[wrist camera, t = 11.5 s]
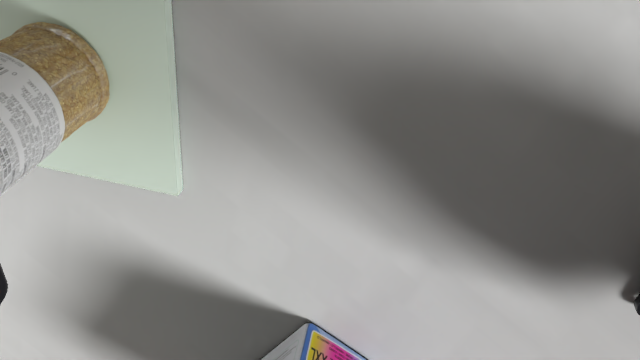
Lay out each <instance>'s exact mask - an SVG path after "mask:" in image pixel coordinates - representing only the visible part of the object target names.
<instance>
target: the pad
mask: <svg viewBox="0 0 640 360" xmlns="http://www.w3.org/2000/svg"><path fill="white" fill-rule="evenodd" d="M36 22H47V23H50V24H56V25H60V26H62V27H65V28H67V29H70V30H71V31H73V32H74V33H76V34H77V35H78V36H79V37H81V38H82V39H84V40H85V41H86V42H87V43H88V44H89V46H90V47H91V48H92V49H93V50H94V51H95V52H96V53H97V54H98V56H99V57H100V59H101V60H102V62H103V65H104V67H105V69H106V71H107V75H108V80H109V93H110V96H109V101H108V103H107V104H106V107H105V108H104V110H103V111H102V112H101V114H100V115H98V116H97V117H96V118H95V119H93V120H91V121H89V122H86V123H85V124H84V125H82V126H81V127H80V128H79V129H77V130H76V131H75V132H73V133H72V134H71V135H70V136H69V137H68V138H66V139H65V140H64V141H62V142H61V143H60V145H59V147H58V148H57V149H56V150H55V151H53V152H52V153H51V154H50V155H49V156H48V157H46V158H45V159H44V160H43V161H42V162H40V163H39V164H38V165H37V166H39V167H43V168H48V169H53V170H57V171H62V172H67V173H71V174H76V175H81V176H86V177H90V178H95V179H100V180H104V181H109V182H114V183H118V184H123V185H128V186H132V187H137V188H142V189H146V190H151V191H156V192H160V193H165V194H170V195H175V196H179V194H180V193H181V191H182V190H183V178H182V162H181V146H180V130H179V114H178V98H177V82H176V66H175V50H174V33H173V17H172V1H171V0H0V40H2V39H4V38H6V37H9V36H11V35H12V34H13V33H14V32H15V31H17V30H18V29H19V28H21V27H23V26H24V25H28V24H31V23H36Z"/></svg>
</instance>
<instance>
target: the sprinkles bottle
mask: <svg viewBox="0 0 640 360" xmlns="http://www.w3.org/2000/svg"><path fill="white" fill-rule="evenodd" d="M109 96H110V93H109V80H108V75H107V71H106V69H105V67H104V65H103V62H102V60H101V59H100V57H99V56H98V54H97V53H96V52H95V51H94V50H93V49H92V48H91V47H90V46H89V44H88V43H87V42H86V41H85V40H84V39H82V38H81V37H79V36H78V35H77V34H76V33H74V32H73V31H71V30H70V29H67V28H65V27H62V26H60V25H56V24H50V23H47V22H36V23H31V24H28V25H24V26H23V27H21V28H19V29H18V30H17V31H15V32H14V33H13V34H12V35H11V36H9V37H6V38H4V39H2V40H0V196H1V195H2V194H3V193H4V192H6V191H7V190H8V189H9V188H10V187H12V186H13V185H14V184H15V183H16V182H18V181H19V180H20V179H21V178H22V177H24V176H25V175H26V174H27V173H28V172H30V171H31V170H32V169H33V168H34V167H36V166H37V165H38V164H39V163H40V162H42V161H43V160H44V159H45V158H46V157H48V156H49V155H50V154H51V153H52V152H53V151H55V150H56V149H57V148H58V147H59V145H60V143H61V142H62V141H64V140H65V139H66V138H68V137H69V136H70V135H71V134H72V133H73V132H75V131H76V130H77V129H79V128H80V127H81V126H82V125H84V124H85V123H86V122H89V121H91V120H93V119H95V118H96V117H97V116H98V115H100V114H101V112H102V111H103V110H104V108H105V107H106V104H107V103H108V101H109Z"/></svg>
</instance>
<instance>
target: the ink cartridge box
mask: <svg viewBox="0 0 640 360" xmlns="http://www.w3.org/2000/svg"><path fill="white" fill-rule="evenodd" d="M261 360H366V359H365V358H363V357H362V356H360V355H359V354H357V353H356V352H354V351H353V350H351V349H350V348H348V347H347V346H345V345H344V344H342V343H341V342H339V341H338V340H336V339H335V338H333V337H332V336H330V335H329V334H328V333H326V332H325V331H323V330H322V329H320V328H319V327H317V326H316V325H314V324H311V323H308V324H304V325H303V326H302V327H300V328H299V329H298V330H297V331H296V332H294V333H293V334H292V335H291V336H289V337H288V338H287V339H286V340H284V341H283V342H282V343H281V344H280V345H278V346H277V347H276V348H275V349H273V350H272V351H271V352H270V353H268V354H267V355H266V356H265V357H263V358H262V359H261Z"/></svg>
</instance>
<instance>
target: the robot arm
mask: <svg viewBox="0 0 640 360" xmlns="http://www.w3.org/2000/svg"><path fill="white" fill-rule="evenodd" d="M7 289H8V284H7V280H6V278H5V275H4V272H3V270H2V267H1V264H0V304H1V303H2V301H3V299H4V298H5V296H6V293H7ZM634 306H635V309H636V311H637V313H638V314H639V315H640V294H639V295H638V297H637V298H636V300H635V302H634Z"/></svg>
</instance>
